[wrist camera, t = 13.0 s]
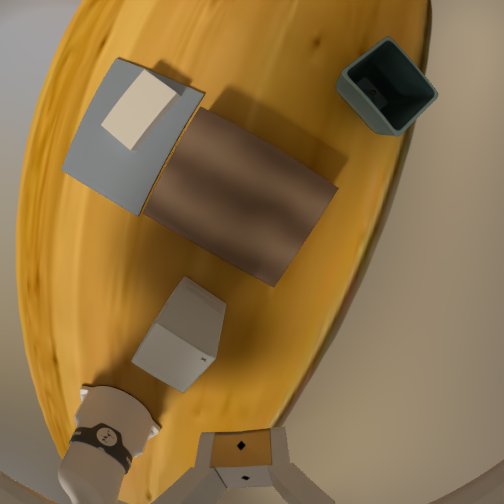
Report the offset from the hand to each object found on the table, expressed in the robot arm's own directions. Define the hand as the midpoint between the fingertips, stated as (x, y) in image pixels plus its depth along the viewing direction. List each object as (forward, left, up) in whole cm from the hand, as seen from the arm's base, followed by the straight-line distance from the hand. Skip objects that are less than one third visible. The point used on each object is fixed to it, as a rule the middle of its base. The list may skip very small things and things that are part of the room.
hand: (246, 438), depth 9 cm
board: (+4, +4, -29) cm, 30 cm away
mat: (+4, +22, -29) cm, 37 cm away
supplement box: (-13, +2, -29) cm, 32 cm away
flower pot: (+24, -3, -29) cm, 38 cm away
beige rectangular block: (+8, +21, -27) cm, 35 cm away
